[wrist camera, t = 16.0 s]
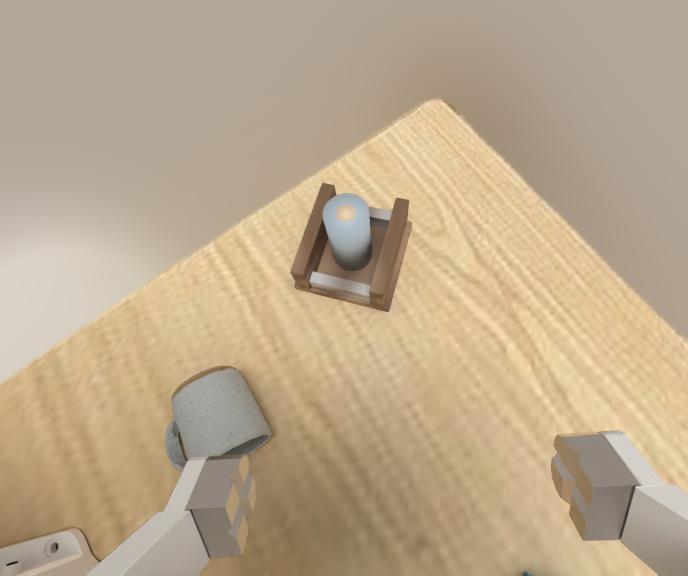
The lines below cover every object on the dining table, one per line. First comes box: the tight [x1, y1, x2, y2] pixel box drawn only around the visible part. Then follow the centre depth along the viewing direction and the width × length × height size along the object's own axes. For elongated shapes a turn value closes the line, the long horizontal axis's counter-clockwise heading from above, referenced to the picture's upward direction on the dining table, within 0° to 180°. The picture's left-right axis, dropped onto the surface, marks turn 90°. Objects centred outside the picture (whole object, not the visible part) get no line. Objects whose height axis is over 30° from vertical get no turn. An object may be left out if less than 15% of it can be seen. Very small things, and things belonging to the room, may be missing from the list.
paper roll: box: [323, 193, 372, 271], centre depth 42 cm, size 4×4×9 cm
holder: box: [291, 183, 412, 312], centre depth 45 cm, size 11×11×6 cm
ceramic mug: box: [166, 366, 272, 472], centre depth 39 cm, size 11×8×8 cm
